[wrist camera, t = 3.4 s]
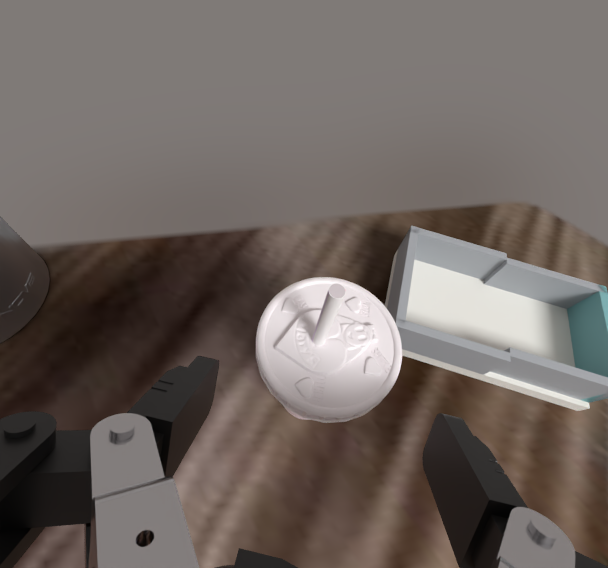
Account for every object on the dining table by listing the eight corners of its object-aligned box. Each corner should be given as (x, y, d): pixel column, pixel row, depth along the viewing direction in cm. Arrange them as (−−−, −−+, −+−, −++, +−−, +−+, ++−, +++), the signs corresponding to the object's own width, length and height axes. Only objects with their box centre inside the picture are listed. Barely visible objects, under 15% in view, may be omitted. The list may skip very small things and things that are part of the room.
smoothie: (253, 352, 23) (240, 218, 11) (340, 339, 24) (413, 205, 12) (265, 452, 20) (265, 415, 8) (364, 432, 21) (491, 373, 9)
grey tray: (376, 347, 24) (395, 325, 21) (394, 255, 29) (411, 225, 25) (577, 410, 24) (631, 399, 20) (563, 306, 28) (605, 282, 25)
